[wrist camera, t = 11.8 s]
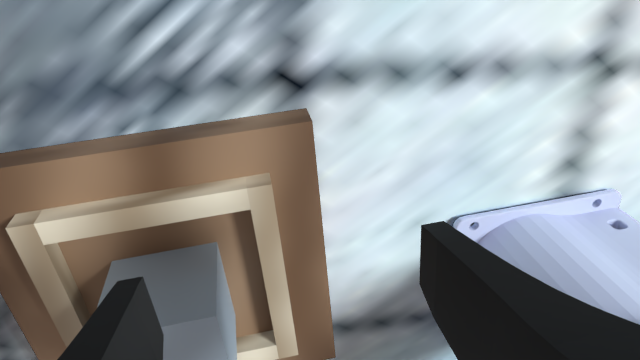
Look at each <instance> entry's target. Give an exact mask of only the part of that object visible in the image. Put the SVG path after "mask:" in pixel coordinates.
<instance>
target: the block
mask: <svg viewBox="0 0 640 360" xmlns="http://www.w3.org/2000/svg"><path fill="white" fill-rule="evenodd" d="M142 276H143V278H144V281H145V284H146V287H147V289H148V292H149V295H150V298H151V301H152V303H153V306H154V309H155V312H156V315H157V317H158V320H159V323H160V326H161V329H162V331H163V334H164V342H163V360H237V344H236V318H235V312H234V308H233V304H232V300H231V296H230V292H229V288H228V284H227V280H226V276H225V272H224V268H223V264H222V260H221V256H220V252H219V248H218V244H217V242H214V243H208V244H203V245H197V246H192V247H186V248H181V249H176V250H170V251H165V252H159V253H154V254H148V255H143V256H137V257H132V258H127V259H121V260H116V261H112V262H111V266H110V269H109V272H108V275H107V278H106V281H105V284H104V287H103V290H102V294H101V297H100V300H99V303H98V306H99V305H100V303H101V302H102V301H103V299H104V298H105V297H106V295H107V294H108V293H109V291H110V290H111V289H112V287H113V286H114V285H115V284H116V282H117V281H120V280H125V279H131V278H136V277H142ZM98 306H97V307H98Z"/></svg>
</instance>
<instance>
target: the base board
mask: <svg viewBox="0 0 640 360" xmlns="http://www.w3.org/2000/svg"><path fill="white" fill-rule="evenodd" d="M214 242H217V244H218V248H219V252H220V256H221V260H222V264H223V268H224V272H225V276H226V280H227V284H228V288H229V292H230V296H231V300H232V304H233V308H234V312H235V318H236V344H237V360H326V359H330V358H335V347H334V336H333V326H332V316H331V306H330V296H329V286H328V276H327V266H326V256H325V246H324V236H323V226H322V215H321V205H320V195H319V185H318V175H317V165H316V155H315V145H314V135H313V125H312V120H311V118H310V115H309V113H308V111H307V109H306V108H305V109H298V110H291V111H284V112H278V113H271V114H264V115H257V116H250V117H244V118H237V119H230V120H223V121H217V122H210V123H203V124H196V125H189V126H183V127H176V128H169V129H162V130H155V131H149V132H142V133H135V134H128V135H121V136H115V137H108V138H101V139H94V140H88V141H81V142H74V143H67V144H60V145H54V146H47V147H40V148H33V149H26V150H20V151H13V152H6V153H0V293H1V295H2V297H3V298H4V300H5V302H6V304H7V305H8V307H9V309H10V311H11V312H12V314H13V316H14V318H15V319H16V321H17V323H18V325H19V326H20V328H21V330H22V332H23V333H24V335H25V337H26V339H27V340H28V342H29V344H30V346H31V347H32V349H33V351H34V353H35V354H36V356H37V358H38V360H57V359H58V358H59V357H60V356H61V354H62V353H63V352H64V351H65V349H66V348H67V347H68V346H69V344H70V343H71V342H72V340H73V339H74V338H75V337H76V335H77V334H78V333H79V331H80V330H81V329H82V328H83V326H84V325H85V324H86V322H87V321H88V320H89V318H90V317H91V316H92V314H93V313H94V311H95V310H96V309H97V306H98V303H99V300H100V297H101V294H102V290H103V287H104V284H105V281H106V278H107V275H108V272H109V269H110V266H111V262H112V261H116V260H121V259H127V258H132V257H137V256H143V255H148V254H154V253H159V252H165V251H170V250H176V249H181V248H186V247H192V246H197V245H203V244H208V243H214Z"/></svg>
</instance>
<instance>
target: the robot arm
mask: <svg viewBox="0 0 640 360" xmlns="http://www.w3.org/2000/svg"><path fill="white" fill-rule="evenodd" d="M621 198H622V195H621V193H620V192H618V191H617V190H615V189H609V190H604V191H598V192H593V193H587V194H582V195H576V196H571V197H565V198H560V199H554V200H549V201H543V202H538V203H533V204H527V205H522V206H516V207H511V208H505V209H500V210H494V211H489V212H483V213H478V214H473V215H467V216H462V217H459V218H458V219H457V220H456V221H455V222H454V224H453V227H452V226H450V225H449V224H447V223H445V222H444V221H442V222H436V223H431V224H425V225H421V256H420V286H421V288H422V291H423V293H424V296H425V298H426V301H427V303H428V305H429V308H430V310H431V312H432V315H433V317H434V319H435V321H436V322H437V324H438V326H439V328H440V329H441V331H442V333H443V335H444V336H445V338H446V340H447V342H448V343H449V345H450V347H451V349H452V350H453V352H454V354H455V355H456V357H457V359H458V360H640V222H638V221H637V220H635V219H634V218H633V217H631V216H630V215H628V214H627V213H626V212H624V211H623V210H621V209H620V208H619V206H620V202H621ZM594 201H595V202H594ZM593 202H594V203H593ZM473 222H475V223H474V224H473V225H472V226H470V225H471V224H472V223H473ZM163 342H164V334H163V331H162V329H161V326H160V323H159V320H158V317H157V315H156V312H155V309H154V306H153V303H152V301H151V298H150V295H149V292H148V289H147V287H146V284H145V281H144V278H143V276H142V277H136V278H131V279H125V280H120V281H117V282H116V284H115V285H114V286H113V287H112V289H111V290H110V291H109V293H108V294H107V295H106V297H105V298H104V299H103V301H102V302H101V303H100V305H99V306H98V307H97V309H96V310H95V311H94V313H93V314H92V316H91V317H90V318H89V320H88V321H87V322H86V324H85V325H84V326H83V328H82V329H81V330H80V331H79V333H78V334H77V335H76V337H75V338H74V339H73V340H72V342H71V343H70V344H69V346H68V347H67V348H66V349H65V351H64V352H63V353H62V354H61V356H60V357H59V358H58V359H57V360H163Z"/></svg>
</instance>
